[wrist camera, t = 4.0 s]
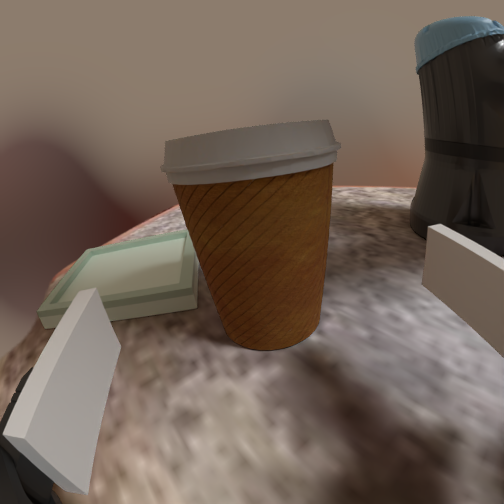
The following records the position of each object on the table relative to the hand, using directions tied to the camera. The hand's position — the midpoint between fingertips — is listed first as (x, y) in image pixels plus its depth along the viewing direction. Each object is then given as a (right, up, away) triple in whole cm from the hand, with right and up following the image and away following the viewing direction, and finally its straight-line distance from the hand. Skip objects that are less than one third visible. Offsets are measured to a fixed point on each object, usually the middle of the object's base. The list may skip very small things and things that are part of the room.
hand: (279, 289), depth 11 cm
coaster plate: (-13, -1, +17) cm, 21 cm away
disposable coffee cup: (0, -3, +9) cm, 10 cm away
